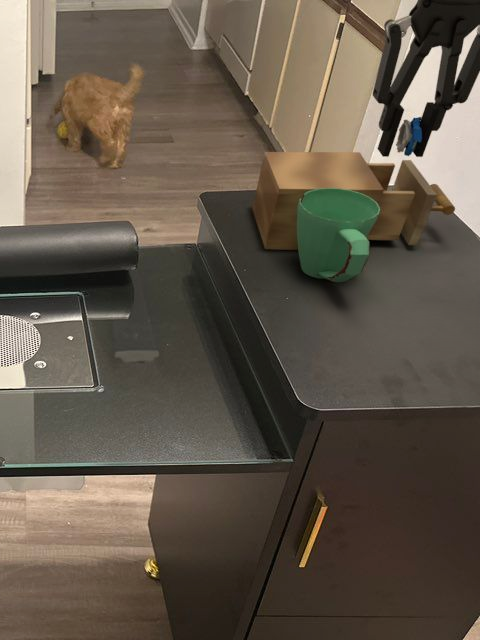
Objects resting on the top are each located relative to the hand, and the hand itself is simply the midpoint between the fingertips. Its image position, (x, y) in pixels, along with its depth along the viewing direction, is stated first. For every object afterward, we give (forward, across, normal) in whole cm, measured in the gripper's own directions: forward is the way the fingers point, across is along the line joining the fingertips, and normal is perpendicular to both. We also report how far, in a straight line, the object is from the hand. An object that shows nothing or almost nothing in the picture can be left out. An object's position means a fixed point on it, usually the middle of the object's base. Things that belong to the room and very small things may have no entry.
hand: (399, 152), depth 101 cm
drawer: (+11, 0, 0) cm, 11 cm away
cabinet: (+12, -10, 0) cm, 16 cm away
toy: (+1, 0, 0) cm, 1 cm away
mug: (+13, -10, -14) cm, 21 cm away
